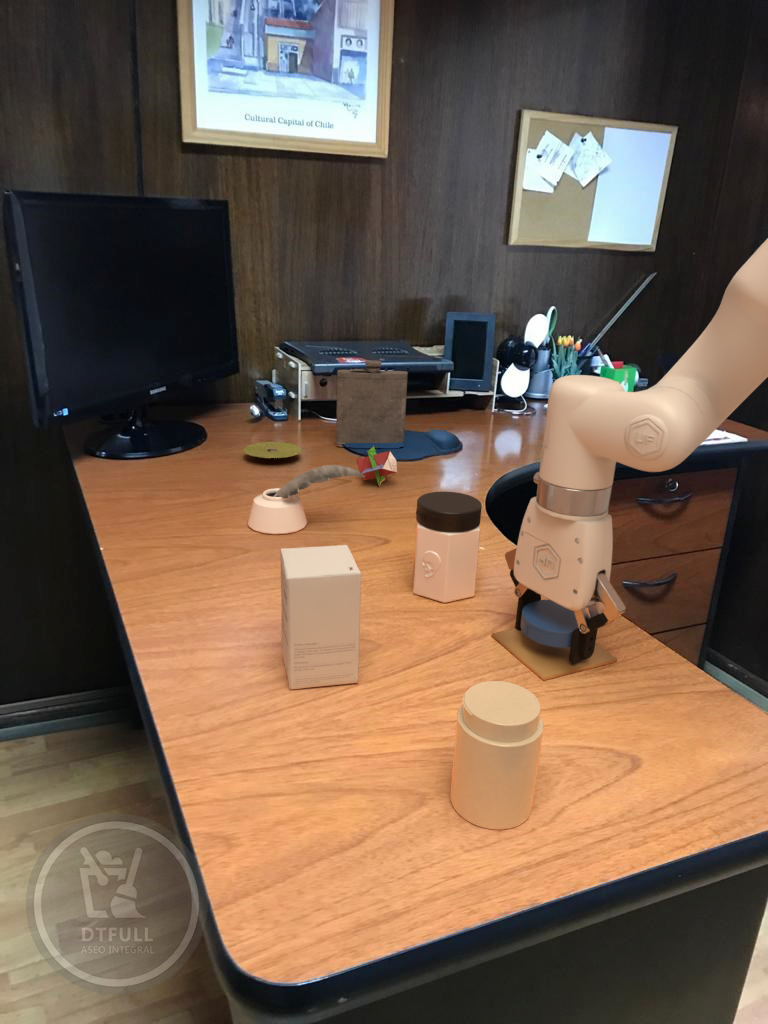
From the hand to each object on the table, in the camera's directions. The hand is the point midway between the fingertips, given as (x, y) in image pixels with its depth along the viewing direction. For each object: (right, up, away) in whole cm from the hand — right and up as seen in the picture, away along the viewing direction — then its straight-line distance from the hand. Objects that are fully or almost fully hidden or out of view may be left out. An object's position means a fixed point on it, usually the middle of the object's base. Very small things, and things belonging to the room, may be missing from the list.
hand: (552, 641), depth 87 cm
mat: (-41, +25, +64) cm, 80 cm away
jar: (-11, +5, +14) cm, 18 cm away
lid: (0, +3, -1) cm, 3 cm away
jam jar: (-10, -9, -23) cm, 27 cm away
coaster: (0, -1, 0) cm, 1 cm away
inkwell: (-31, +12, +33) cm, 47 cm away
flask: (-22, +28, +75) cm, 83 cm away
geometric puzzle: (-21, +20, +53) cm, 60 cm away
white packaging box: (-26, -2, -6) cm, 27 cm away
